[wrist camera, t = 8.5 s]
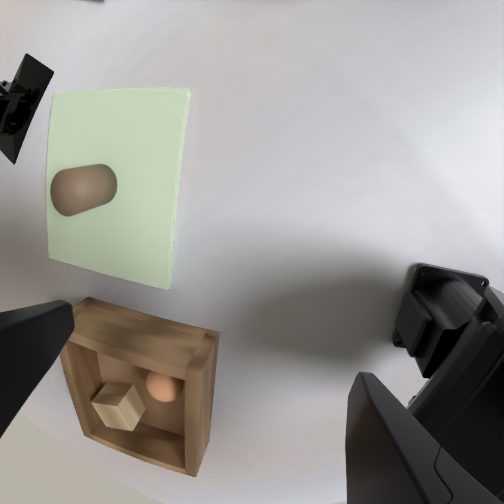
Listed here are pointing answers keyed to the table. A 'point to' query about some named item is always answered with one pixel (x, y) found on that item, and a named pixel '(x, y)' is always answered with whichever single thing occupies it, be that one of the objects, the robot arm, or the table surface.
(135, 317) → the walnut box
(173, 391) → the terracotta ball
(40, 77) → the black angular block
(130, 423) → the beech block
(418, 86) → the table surface
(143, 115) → the lid
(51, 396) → the table surface
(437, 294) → the robot arm
